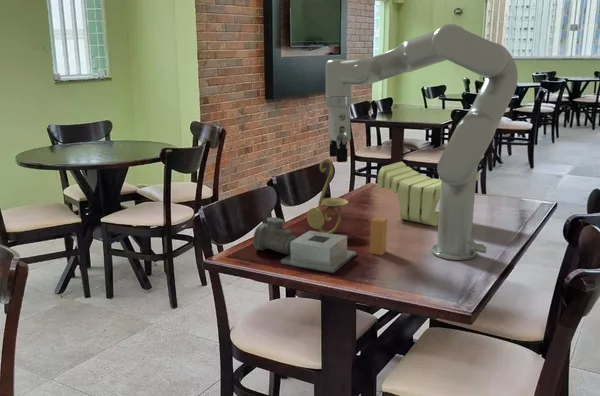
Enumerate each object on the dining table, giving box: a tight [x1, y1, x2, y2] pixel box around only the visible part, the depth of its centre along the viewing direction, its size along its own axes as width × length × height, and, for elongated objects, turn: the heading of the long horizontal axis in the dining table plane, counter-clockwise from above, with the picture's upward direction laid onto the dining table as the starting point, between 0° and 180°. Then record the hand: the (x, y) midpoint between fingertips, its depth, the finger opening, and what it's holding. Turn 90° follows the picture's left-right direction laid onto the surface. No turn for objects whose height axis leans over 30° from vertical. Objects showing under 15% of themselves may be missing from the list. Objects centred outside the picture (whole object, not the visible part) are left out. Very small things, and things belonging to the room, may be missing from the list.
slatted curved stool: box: [377, 161, 480, 227], centre depth 202 cm, size 30×16×18 cm, turn 49°
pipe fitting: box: [252, 216, 297, 256], centre depth 170 cm, size 12×8×10 cm, turn 60°
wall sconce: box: [306, 158, 349, 234], centre depth 184 cm, size 14×10×25 cm
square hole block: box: [280, 230, 357, 274], centre depth 165 cm, size 16×16×6 cm
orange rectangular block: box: [369, 217, 388, 256], centre depth 170 cm, size 4×4×10 cm
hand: (338, 159), depth 176 cm, fingers open, 9 cm apart
